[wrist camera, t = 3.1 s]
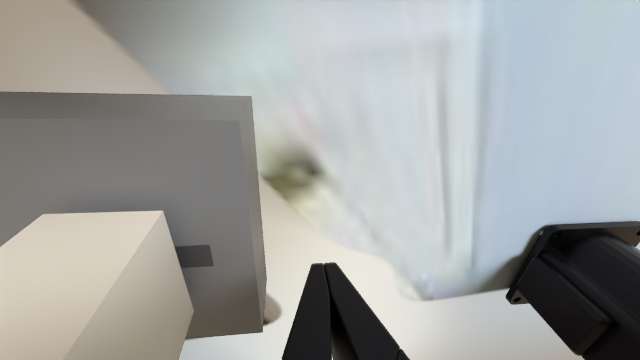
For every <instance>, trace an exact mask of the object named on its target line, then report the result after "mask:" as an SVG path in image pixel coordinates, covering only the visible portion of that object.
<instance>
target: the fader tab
mask: <svg viewBox="0 0 640 360" xmlns="http://www.w3.org/2000/svg"><path fill="white" fill-rule="evenodd" d="M193 313H194V309H193V306H192V303H191V300H190V296H189V293H188V290H187V287H186V283H185V280H184V277H183V274H182V270H181V267H180V264H179V261H178V257H177V254H176V251H175V248H174V244H173V241H172V238H171V235H170V231H169V228H168V225H167V222H166V218H165V215H164V212H163V211H129V212H96V213H63V214H43V215H41V216H40V217H39V218H37V219H36V220H35V221H34V222H32V223H31V224H30V225H28V226H27V227H26V228H24V229H23V230H22V231H20V232H19V233H18V234H17V235H15V236H14V237H13V238H11V239H10V240H9V241H7V242H6V243H5V244H4V245H2V246H1V247H0V360H178V359H179V356H180V353H181V350H182V347H183V343H184V341H185V338H186V334H187V331H188V328H189V325H190V322H191V319H192V316H193Z"/></svg>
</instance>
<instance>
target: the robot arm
mask: <svg viewBox="0 0 640 360" xmlns="http://www.w3.org/2000/svg"><path fill="white" fill-rule="evenodd" d="M639 242H640V221H634V222H611V223H588V224H564V225H552V226H550V227H548V228H547V229H546V230H545V231H544V232H543V234H542V236H541V237H540V239H539V241H538V242H537V244H536V246H535V247H534V249H533V251H532V252H531V254H530V256H529V257H528V259H527V261H526V262H525V264H524V266H523V267H522V269H521V271H520V273H519V274H518V276H517V278H516V279H515V281H514V283H513V284H512V286H511V288H510V289H509V291H508V293H507V295H506V299H507V300H508V301H509V302H510V304H526V303H530V304H531V305H532V307H533V308H534V309H535V310H536V311H537V312H538V313H539V315H540V316H541V317H542V318H543V319H544V320H545V321H546V322H547V324H548V325H549V326H550V327H551V328H552V329H553V330H554V332H555V333H556V334H557V335H558V336H559V337H560V338H561V339H562V340H563V342H564V343H565V344H566V345H567V346H568V347H569V348H570V350H572V352H573V353H575V354H576V355H579V356H580V355H581V356H582V357H583V358H584V359H585V360H640V250H638V249H637V248H635V247H636V246H637V245H638V243H639ZM399 348H400V347H399V345H398V344H397V343H396V341H395V340H394V339H393V337H392V336H391V335H390V333H389V332H388V331H387V329H386V328H385V327H384V325H383V324H382V323H381V322H380V320H379V319H378V318H377V316H376V315H375V314H374V312H373V311H372V310H371V308H370V307H369V306H368V304H367V303H366V302H365V300H364V299H363V298H362V297H361V295H360V294H359V293H358V291H357V290H356V289H355V287H354V286H353V285H352V284H351V282H350V281H349V280H348V278H347V277H346V275H345V274H344V273H343V272H342V270H341V269H340V268H339V266H338V265H337V264H336V263H325V264H324V265H323V263H315V264H312V265H311V268H310V271H309V274H308V277H307V280H306V283H305V287H304V290H303V293H302V296H301V299H300V302H299V306H298V309H297V312H296V315H295V319H294V321H293V325H292V328H291V331H290V334H289V337H288V340H287V344H286V347H285V350H284V353H283V356H282V360H332V356H333V360H410V359H409V358H408V357H407V356H406V354H405V353H404V352H403V350H402V349H399Z"/></svg>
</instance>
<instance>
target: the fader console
mask: <svg viewBox="0 0 640 360" xmlns="http://www.w3.org/2000/svg"><path fill="white" fill-rule="evenodd" d="M129 211H163V212H164V215H165V218H166V222H167V225H168V228H169V231H170V235H171V238H172V241H173V244H174V248H175V251H176V254H177V257H178V261H179V264H180V267H181V270H182V274H183V277H184V280H185V283H186V287H187V290H188V293H189V296H190V300H191V303H192V306H193V309H194V313H193V316H192V319H191V322H190V325H189V328H188V331H187V334H186V338H185V339H189V338H201V337H213V336H225V335H236V334H248V333H260V332H263V319H264V306H265V293H266V267H265V255H264V243H263V231H262V219H261V208H260V195H259V184H258V171H257V159H256V147H255V135H254V123H253V111H252V99H251V96H208V95H152V94H98V93H96V94H95V93H44V92H43V93H41V92H38V93H37V92H0V247H1V246H2V245H4V244H5V243H6V242H7V241H9V240H10V239H11V238H13V237H14V236H15V235H17V234H18V233H19V232H20V231H22V230H23V229H24V228H26V227H27V226H28V225H30V224H31V223H32V222H34V221H35V220H36V219H37V218H39V217H40V216H41V215H43V214H63V213H96V212H129Z"/></svg>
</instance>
